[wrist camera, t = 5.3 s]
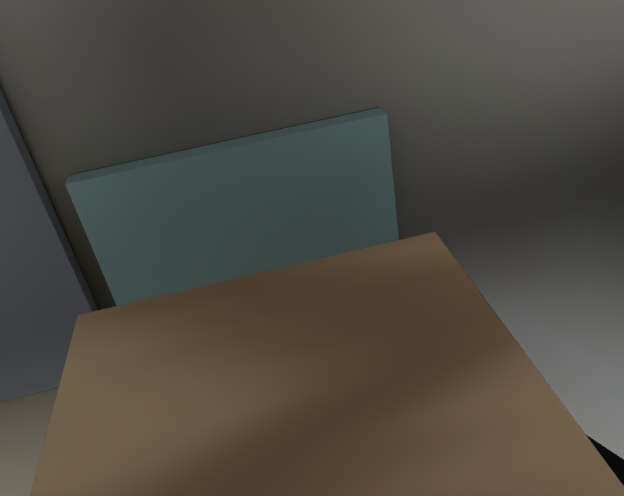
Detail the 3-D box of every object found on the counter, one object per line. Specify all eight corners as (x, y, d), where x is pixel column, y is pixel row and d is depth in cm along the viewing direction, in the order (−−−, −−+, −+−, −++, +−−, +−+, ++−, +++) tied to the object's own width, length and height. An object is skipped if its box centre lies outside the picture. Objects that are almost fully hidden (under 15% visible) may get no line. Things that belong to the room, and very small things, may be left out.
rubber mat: (381, 106, 11) (387, 113, 11) (403, 341, 14) (409, 352, 14) (68, 175, 11) (64, 184, 11) (162, 401, 14) (162, 413, 14)
